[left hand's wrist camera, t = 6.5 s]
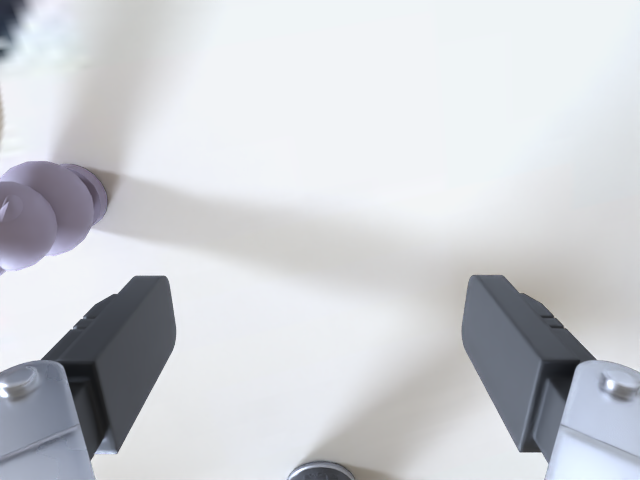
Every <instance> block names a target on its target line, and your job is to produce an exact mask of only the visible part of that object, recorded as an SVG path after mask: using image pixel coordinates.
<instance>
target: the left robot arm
mask: <svg viewBox="0 0 640 480" xmlns="http://www.w3.org/2000/svg"><path fill="white" fill-rule="evenodd" d="M175 340H176V324H175V317H174V311H173V304H172V298H171V291H170V285H169V281H168V279H167V277H166V276H134V277H133V278H132V279H131V280H130V281H129V282H128V283H127V285H126V286H125V287H124V288H123V289H122V290H121V291H120V292H119V293H118V294H113V295H111V296H109V297H108V298H106V299H104V300H102V301H101V302H99V303H97V304H95V305H94V306H93V307H92V308H91V309H90V310H89V311H88V312H87V313H86V314H85V315H84V316H83V319H81V320H80V321H79V322H78V323H77V324H76V325H75V326H74V327H73V330H70V331H69V332H68V333H67V334H66V335H65V336H64V337H63V338H62V339H61V340H60V341H59V342H58V343H57V344H56V345H55V346H54V347H53V348H52V349H51V350H50V351H49V352H48V353H47V354H46V355H45V356H44V357H43V358H42V359H41V360H38V361H31V362H27V363H23V364H19V365H17V366H14V367H11V368H9V369H7V370H4V371H2V372H1V373H0V480H96V479H95V476H94V472H93V469H92V465H91V459H92V458H93V456H94V454H117V453H118V451H119V449H120V448H121V446H122V444H123V442H124V440H125V438H126V436H127V435H128V433H129V431H130V429H131V427H132V425H133V423H134V422H135V420H136V418H137V416H138V414H139V412H140V410H141V409H142V407H143V405H144V403H145V401H146V399H147V397H148V395H149V394H150V392H151V390H152V388H153V386H154V384H155V382H156V381H157V379H158V377H159V375H160V373H161V371H162V369H163V368H164V366H165V364H166V362H167V360H168V358H169V356H170V355H171V353H172V351H173V348H174V345H175ZM462 340H463V345H464V348H465V350H466V352H467V354H468V356H469V358H470V360H471V362H472V364H473V365H474V367H475V369H476V371H477V373H478V375H479V377H480V379H481V381H482V382H483V384H484V386H485V388H486V390H487V392H488V394H489V396H490V398H491V399H492V401H493V403H494V405H495V407H496V409H497V411H498V413H499V414H500V416H501V418H502V420H503V422H504V424H505V426H506V428H507V430H508V431H509V433H510V435H511V437H512V439H513V441H514V443H515V445H516V447H517V448H518V450H519V452H542V454H543V455H544V457H545V459H546V460H547V462H548V464H549V465H548V469H547V472H546V476H545V479H544V480H640V373H639V372H638V371H636V370H633V369H631V368H629V367H626V366H623V365H621V364H617V363H613V362H609V361H602V360H596V359H595V358H594V357H593V356H592V355H591V354H590V352H589V351H588V350H587V349H586V348H585V347H584V346H583V345H582V344H581V343H580V342H579V341H578V340H577V339H576V338H575V337H574V336H573V335H572V334H571V333H570V332H569V331H568V330H567V329H564V326H563V325H562V324H561V323H560V322H559V321H558V320H557V319H556V318H554V316H553V315H552V314H551V313H550V311H549V310H548V309H547V308H546V307H545V306H544V305H543V304H542V303H540V302H538V301H536V300H535V299H533V298H531V297H529V296H527V295H526V294H524V293H519V292H518V291H517V290H516V289H515V288H514V287H513V286H512V285H511V283H510V282H509V281H508V280H507V279H506V278H505V277H504V276H502V275H473V276H471V278H470V280H469V283H468V289H467V295H466V302H465V309H464V315H463V322H462ZM287 480H355V478H354V477H353V475H352V474H351V473H350V472H349V471H348V470H347V469H346V468H344V467H342V466H340V465H338V464H335V463H331V462H322V461H320V462H311V463H307V464H304V465H302V466H300V467H298V468H296V469H295V470H294V471H293V472H292V473H291V474H290V475H289V477H288V479H287Z"/></svg>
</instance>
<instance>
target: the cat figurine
mask: <svg viewBox="0 0 640 480" xmlns="http://www.w3.org/2000/svg"><path fill="white" fill-rule="evenodd" d="M107 204H108V200H107V195H106V191H105V189H104V187H103V185H102V183H101V182H100V181H99V180H98V178H97V177H96V176H95V175H94V174H93V173H91V172H90V171H88V170H86V169H85V168H83V167H80V166H77V165H74V164H61V165H57V164H54V163H51V162H47V161H30V162H25V163H22V164H20V165H17V166H15V167H12V168H10V169H9V170H8V171H7V172H6V173H5V174H4V175H3V176H2V177H1V178H0V275H2V274H3V273H4V272H5V271H17V270H21V269H23V268H26V267H29V266H32V265H34V264H36V263H37V262H38V261H39V260H41V259H42V258H43V257H44V256H54V255H59V254H61V253H64V252H67V251H70V250H72V249H73V248H75V247H76V246H77V245H78V244H79V243H81V242H82V241H83V240H84V239H85V237H86V236H87V234H88V232H89V230H90V228H91V226H93V225H94V224H96V223H97V222H98V221H100V220H101V219H102V218H103V216H104V214H105V213H106V210H107Z"/></svg>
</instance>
